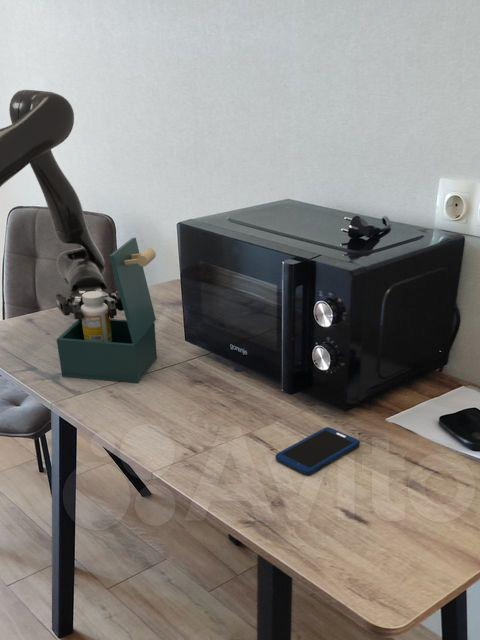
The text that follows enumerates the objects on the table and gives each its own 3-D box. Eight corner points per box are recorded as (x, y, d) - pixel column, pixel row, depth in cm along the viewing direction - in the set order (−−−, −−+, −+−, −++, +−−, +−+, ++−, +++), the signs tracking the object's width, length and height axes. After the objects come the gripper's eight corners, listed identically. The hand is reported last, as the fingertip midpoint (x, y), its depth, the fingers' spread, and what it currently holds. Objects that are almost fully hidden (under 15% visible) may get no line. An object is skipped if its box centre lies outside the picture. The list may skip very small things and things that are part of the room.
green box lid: (108, 255, 124) (137, 252, 123) (131, 237, 134) (158, 234, 133) (132, 343, 132) (159, 340, 131) (152, 320, 143) (177, 317, 142)
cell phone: (361, 444, 118) (361, 440, 117) (307, 476, 109) (307, 472, 109) (327, 429, 122) (327, 425, 122) (273, 459, 113) (273, 455, 113)
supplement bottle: (101, 334, 143) (96, 287, 138) (117, 342, 140) (112, 294, 135) (79, 341, 140) (72, 294, 135) (95, 349, 137) (88, 301, 132)
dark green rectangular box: (62, 376, 139) (56, 339, 134) (86, 352, 149) (81, 316, 145) (138, 383, 137) (134, 345, 132) (157, 357, 147) (154, 322, 143)
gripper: (49, 271, 144) (54, 299, 131) (120, 267, 148) (132, 292, 134) (55, 307, 148) (60, 337, 135) (123, 301, 152) (135, 330, 139)
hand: (96, 314), depth 135 cm, fingers closed on supplement bottle, 5 cm apart
